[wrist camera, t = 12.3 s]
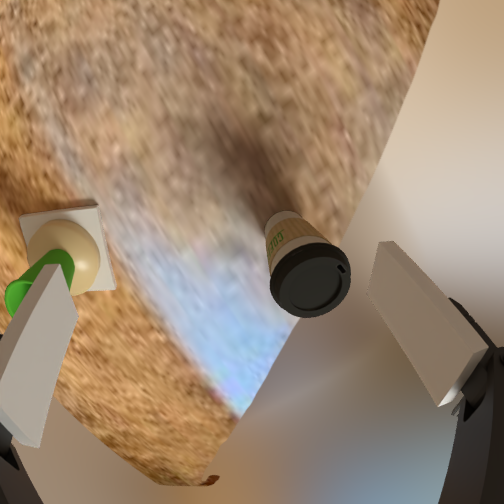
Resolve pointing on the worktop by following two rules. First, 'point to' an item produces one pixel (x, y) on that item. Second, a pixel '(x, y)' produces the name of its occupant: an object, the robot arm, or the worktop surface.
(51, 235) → the domed square tile
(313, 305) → the coffee cup
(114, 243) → the worktop surface
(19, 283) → the cup
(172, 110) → the worktop surface
